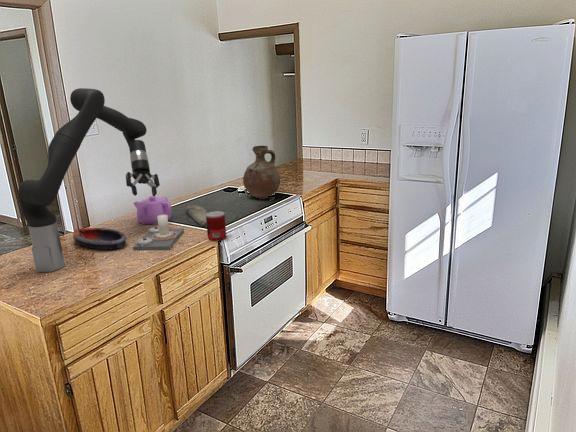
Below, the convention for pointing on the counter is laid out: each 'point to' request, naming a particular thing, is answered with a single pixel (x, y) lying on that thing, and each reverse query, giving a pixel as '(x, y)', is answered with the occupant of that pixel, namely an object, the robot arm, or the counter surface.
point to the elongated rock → (197, 214)
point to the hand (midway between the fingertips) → (145, 195)
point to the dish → (100, 238)
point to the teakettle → (152, 209)
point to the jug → (262, 174)
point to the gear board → (157, 240)
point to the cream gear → (163, 228)
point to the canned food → (216, 225)
